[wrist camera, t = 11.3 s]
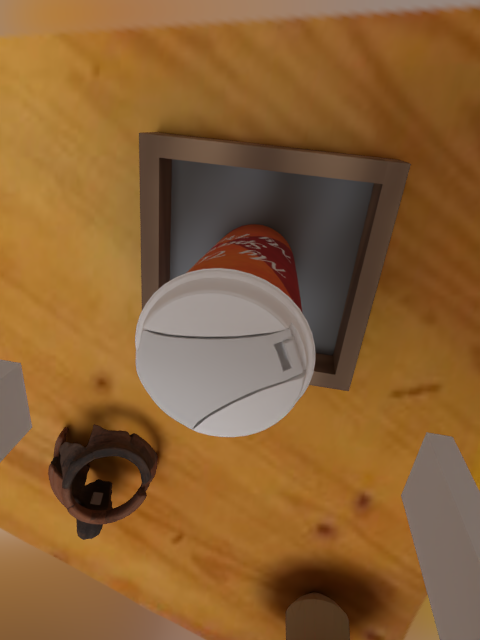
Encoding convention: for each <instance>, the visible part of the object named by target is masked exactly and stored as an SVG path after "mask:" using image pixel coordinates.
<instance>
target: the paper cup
mask: <svg viewBox="0 0 480 640" xmlns="http://www.w3.org/2000/svg"><path fill="white" fill-rule="evenodd" d="M135 342H136V369H137V373H138V376H139V378H140V380H141V382H142V384H143V386H144V388H145V389H146V391H147V392H148V393H149V395H150V396H151V398H152V399H153V400H154V402H155V403H156V404H157V405H158V407H159V408H161V409H162V410H163V411H164V412H165V413H166V414H167V415H169V416H170V417H172V418H173V419H175V420H176V421H178V422H179V423H181V424H183V425H185V426H186V427H188V428H190V429H193V430H194V431H196V432H199V433H203V434H207V435H212V436H219V437H238V436H246V435H250V434H254V433H257V432H260V431H262V430H265V429H267V428H269V427H271V426H272V425H274V424H276V423H277V422H278V421H280V420H281V419H282V418H283V417H285V416H286V415H287V414H288V412H289V411H290V410H291V409H292V408H293V407H294V405H295V403H296V402H297V401H298V400H299V399H300V398H301V396H302V395H303V394H304V392H305V390H306V389H307V387H308V385H309V383H310V381H311V378H312V375H313V372H314V366H315V344H314V339H313V334H312V332H311V329H310V327H309V324H308V322H307V320H306V318H305V317H304V315H303V313H302V306H301V298H300V292H299V285H298V278H297V272H296V266H295V261H294V256H293V253H292V250H291V248H290V246H289V244H288V242H287V241H286V240H285V238H284V237H283V236H282V235H281V234H279V233H278V232H277V231H275V230H274V229H272V228H270V227H267V226H264V225H258V224H250V225H244V226H241V227H238V228H236V229H234V230H232V231H231V232H230V233H228V234H227V235H226V236H224V237H223V238H222V239H221V240H220V241H219V242H218V243H217V244H216V245H215V246H213V247H212V248H211V249H210V250H209V251H208V252H207V253H206V254H205V255H204V256H203V257H202V258H201V259H200V260H199V261H198V262H197V263H196V264H195V265H194V266H193V267H192V268H191V269H190V270H189V271H188V272H187V273H185V274H183V275H180V276H178V277H175V278H174V279H172V280H170V281H169V282H167V283H166V284H164V285H163V286H162V287H161V288H159V289H158V290H157V291H156V292H155V293H154V294H153V295H152V297H151V298H150V299H149V300H148V302H147V303H146V304H145V306H144V308H143V310H142V312H141V314H140V317H139V320H138V324H137V327H136V337H135Z"/></svg>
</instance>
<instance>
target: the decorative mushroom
mask: <svg viewBox="0 0 480 640" xmlns="http://www.w3.org/2000/svg"><path fill="white" fill-rule="evenodd" d="M286 640H350V633H349V620H348V617H347V614H346V613H345V612H344V611H343V610H342V609H341V608H340V607H339V606H338V605H337V603H336V602H335V601H334V600H332V599H330V598H329V597H327V596H325V595H322V594H320V593H310V594H306V595H303V596H301V597H299V598H298V599H296V600H295V601H294V602H293V603H292V604H291V605H290V606H289V607H288V609H287V611H286Z"/></svg>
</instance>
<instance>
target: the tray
mask: <svg viewBox="0 0 480 640" xmlns="http://www.w3.org/2000/svg"><path fill="white" fill-rule="evenodd" d="M139 159H140V219H141V278H142V310H143V308H144V306H145V304H146V303H147V302H148V300H149V299H150V298H151V297H152V295H153V294H154V293H155V292H156V291H157V290H158V289H159V288H161V287H162V286H163V285H164V284H166V283H167V282H169V281H170V280H172V279H174V278H175V277H178V276H180V275H183V274H185V273H187V272H188V271H189V270H190V269H191V268H192V267H193V266H194V265H195V264H196V263H197V262H198V261H199V260H200V259H201V258H202V257H203V256H204V255H205V254H206V253H207V252H208V251H209V250H210V249H211V248H212V247H213V246H215V245H216V244H217V243H218V242H219V241H220V240H221V239H222V238H223V237H224V236H226V235H227V234H228V233H230V232H231V231H232V230H234V229H236V228H238V227H241V226H244V225H250V224H258V225H264V226H267V227H270V228H272V229H274V230H275V231H277V232H278V233H279V234H281V235H282V236H283V237H284V238H285V240H286V241H287V242H288V244H289V246H290V248H291V250H292V253H293V256H294V261H295V266H296V272H297V278H298V285H299V292H300V298H301V306H302V313H303V315H304V317H305V318H306V320H307V322H308V324H309V327H310V329H311V332H312V334H313V339H314V344H315V366H314V372H313V375H312V378H311V381H310V383H309V385H314V386H320V387H326V388H333V389H339V390H345V391H349V388H350V384H351V381H352V377H353V373H354V370H355V366H356V362H357V359H358V355H359V351H360V348H361V344H362V341H363V337H364V333H365V330H366V326H367V322H368V319H369V315H370V311H371V308H372V304H373V300H374V297H375V293H376V289H377V286H378V282H379V278H380V275H381V271H382V267H383V264H384V260H385V256H386V253H387V249H388V245H389V242H390V238H391V234H392V231H393V227H394V224H395V220H396V216H397V213H398V209H399V205H400V202H401V198H402V194H403V191H404V187H405V183H406V180H407V176H408V172H409V169H410V165H411V164H410V163H407V162H404V161H401V160H396V159H387V158H379V157H370V156H361V155H352V154H343V153H335V152H326V151H317V150H308V149H299V148H290V147H282V146H273V145H264V144H255V143H246V142H238V141H229V140H220V139H211V138H202V137H193V136H185V135H176V134H167V133H158V132H150V133H139Z"/></svg>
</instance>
